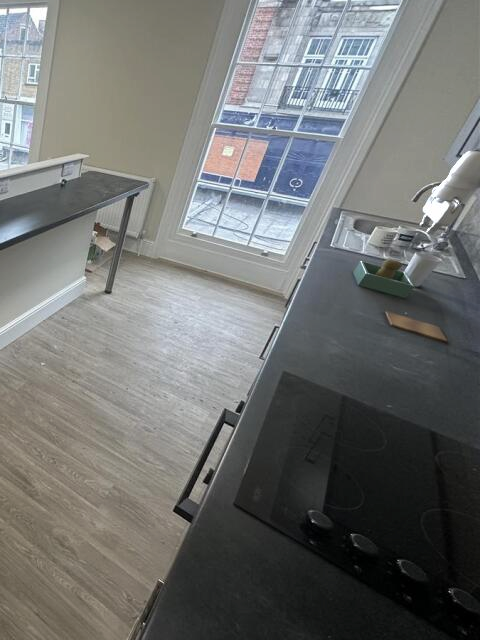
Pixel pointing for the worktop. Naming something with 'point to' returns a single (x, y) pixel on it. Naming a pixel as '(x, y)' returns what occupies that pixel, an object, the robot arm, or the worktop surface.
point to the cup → (421, 267)
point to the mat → (415, 326)
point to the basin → (383, 280)
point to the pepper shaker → (389, 268)
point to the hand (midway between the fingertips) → (425, 230)
